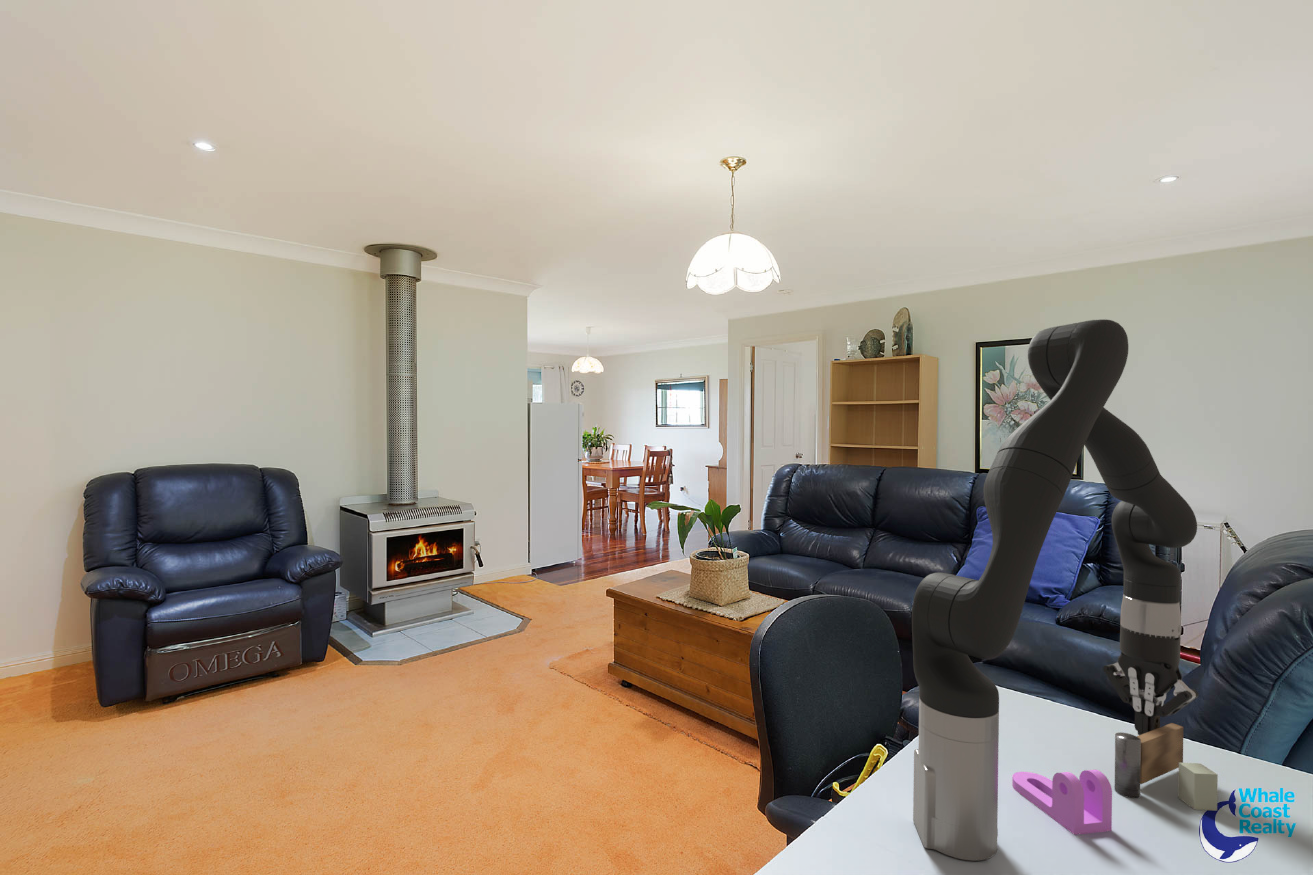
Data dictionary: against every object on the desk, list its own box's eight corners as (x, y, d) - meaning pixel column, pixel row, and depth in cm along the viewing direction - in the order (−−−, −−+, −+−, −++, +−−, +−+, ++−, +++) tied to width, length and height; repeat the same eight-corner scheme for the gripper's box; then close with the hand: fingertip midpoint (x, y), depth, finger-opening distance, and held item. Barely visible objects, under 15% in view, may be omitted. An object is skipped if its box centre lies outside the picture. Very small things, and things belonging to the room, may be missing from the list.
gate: (1141, 783, 94) (1142, 742, 94) (1130, 779, 95) (1130, 738, 95) (1182, 765, 99) (1183, 726, 99) (1171, 761, 101) (1172, 722, 101)
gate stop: (1194, 809, 89) (1194, 773, 89) (1178, 797, 92) (1178, 762, 92) (1217, 810, 89) (1217, 774, 89) (1200, 798, 92) (1200, 763, 92)
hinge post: (1121, 796, 92) (1122, 740, 92) (1110, 785, 95) (1110, 731, 95) (1144, 798, 92) (1145, 742, 92) (1132, 787, 95) (1133, 733, 95)
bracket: (1111, 831, 84) (1112, 778, 84) (1074, 835, 83) (1074, 781, 83) (1036, 779, 97) (1037, 733, 97) (1003, 782, 96) (1004, 735, 96)
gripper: (1091, 617, 105) (1088, 722, 106) (1184, 642, 93) (1180, 761, 94) (1120, 612, 108) (1117, 714, 109) (1213, 636, 96) (1210, 751, 97)
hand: (1146, 736), depth 101 cm, fingers closed
